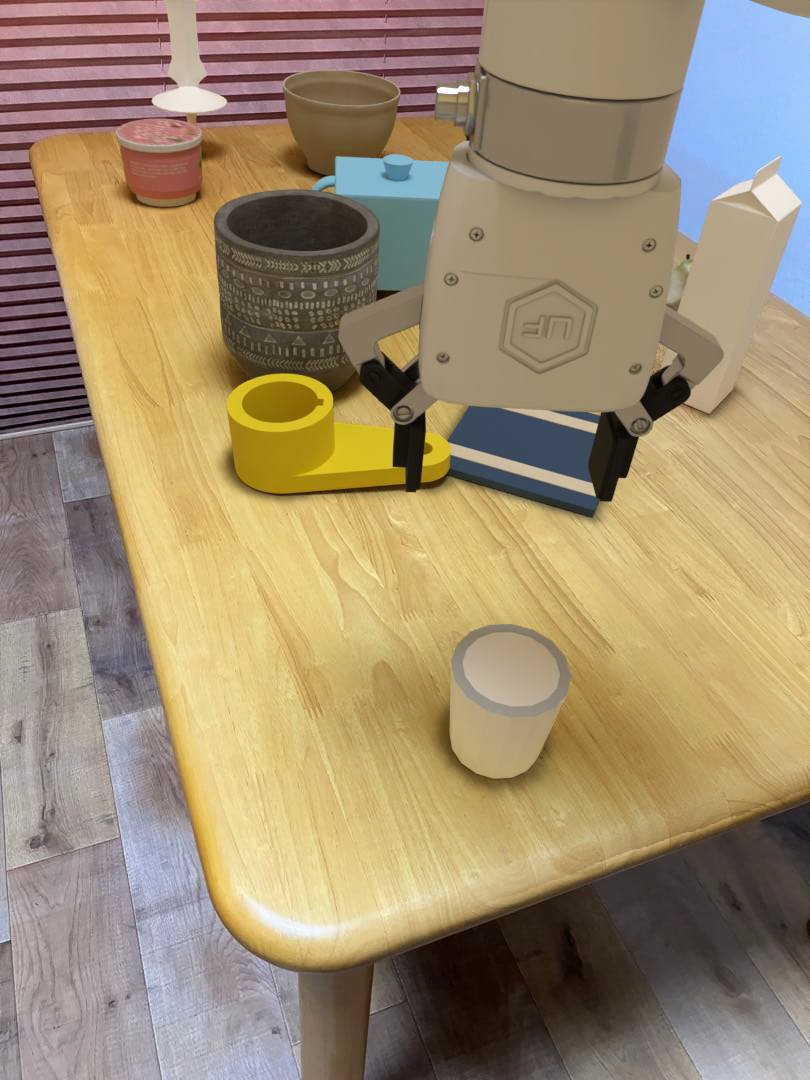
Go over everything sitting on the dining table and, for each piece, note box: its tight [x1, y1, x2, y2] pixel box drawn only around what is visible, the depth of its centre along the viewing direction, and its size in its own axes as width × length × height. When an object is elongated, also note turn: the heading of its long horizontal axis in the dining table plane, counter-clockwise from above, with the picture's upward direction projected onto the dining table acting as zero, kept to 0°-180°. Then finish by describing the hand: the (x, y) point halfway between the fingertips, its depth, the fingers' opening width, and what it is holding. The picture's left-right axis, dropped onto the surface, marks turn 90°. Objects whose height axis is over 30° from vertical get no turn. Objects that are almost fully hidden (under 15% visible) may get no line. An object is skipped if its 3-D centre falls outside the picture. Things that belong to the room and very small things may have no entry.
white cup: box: [449, 623, 572, 780], centre depth 52 cm, size 7×7×7 cm
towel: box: [446, 406, 601, 518], centre depth 77 cm, size 14×14×1 cm
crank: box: [226, 374, 451, 495], centre depth 71 cm, size 18×8×6 cm, turn 90°
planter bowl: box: [282, 69, 401, 177], centre depth 123 cm, size 16×16×11 cm
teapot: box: [310, 153, 449, 292], centre depth 96 cm, size 22×11×14 cm, turn 93°
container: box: [115, 118, 203, 208], centre depth 112 cm, size 10×10×8 cm
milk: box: [659, 155, 803, 415], centre depth 79 cm, size 6×6×22 cm
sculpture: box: [151, 0, 228, 127], centre depth 116 cm, size 10×10×30 cm
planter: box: [213, 188, 380, 393], centre depth 79 cm, size 14×14×15 cm
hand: (505, 480), depth 44 cm, fingers open, 9 cm apart
